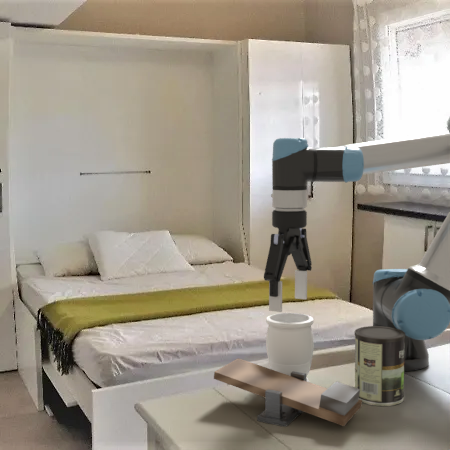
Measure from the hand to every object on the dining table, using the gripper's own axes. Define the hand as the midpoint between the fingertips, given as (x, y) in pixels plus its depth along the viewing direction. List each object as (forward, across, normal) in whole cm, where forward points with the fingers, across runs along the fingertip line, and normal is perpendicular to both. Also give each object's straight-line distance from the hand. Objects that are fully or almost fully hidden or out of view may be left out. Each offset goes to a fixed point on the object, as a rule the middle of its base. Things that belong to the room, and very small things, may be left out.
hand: (288, 304), depth 144 cm
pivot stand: (+18, +15, +6) cm, 24 cm away
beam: (+13, +15, +6) cm, 21 cm away
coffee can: (+18, -1, +20) cm, 27 cm away
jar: (+18, 0, 0) cm, 18 cm away
